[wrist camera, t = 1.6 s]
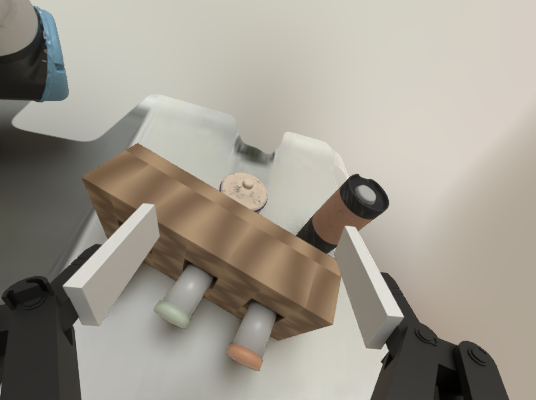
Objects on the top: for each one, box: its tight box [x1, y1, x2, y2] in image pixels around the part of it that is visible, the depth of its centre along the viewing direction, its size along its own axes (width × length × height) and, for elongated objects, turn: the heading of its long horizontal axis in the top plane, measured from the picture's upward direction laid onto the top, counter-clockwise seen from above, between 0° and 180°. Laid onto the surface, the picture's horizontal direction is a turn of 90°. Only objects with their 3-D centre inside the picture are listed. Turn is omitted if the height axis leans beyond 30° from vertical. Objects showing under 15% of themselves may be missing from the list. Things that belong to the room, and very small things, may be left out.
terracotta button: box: [226, 298, 278, 371], centre depth 29 cm, size 4×7×4 cm, turn 157°
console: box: [82, 143, 341, 340], centre depth 33 cm, size 32×8×16 cm, turn 67°
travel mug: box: [296, 174, 389, 254], centre depth 42 cm, size 8×8×20 cm
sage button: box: [154, 262, 215, 329], centre depth 29 cm, size 4×7×4 cm, turn 157°
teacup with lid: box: [220, 173, 267, 214], centre depth 44 cm, size 12×9×12 cm
